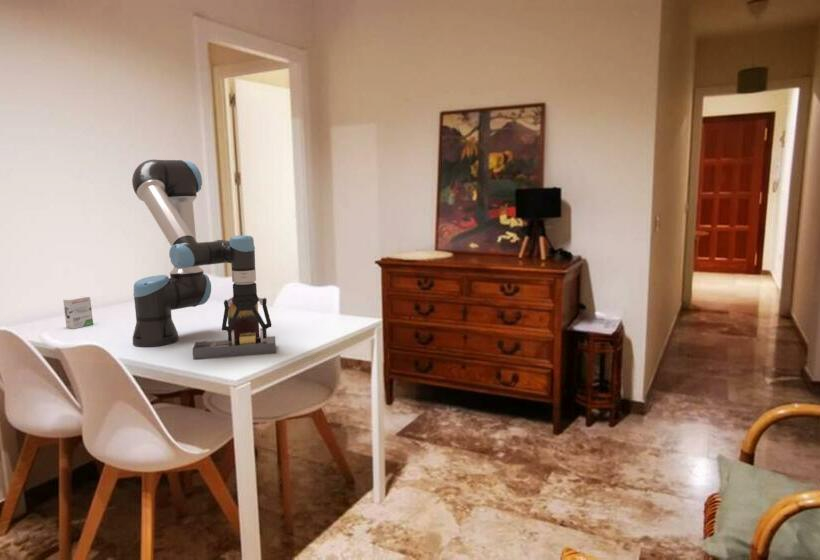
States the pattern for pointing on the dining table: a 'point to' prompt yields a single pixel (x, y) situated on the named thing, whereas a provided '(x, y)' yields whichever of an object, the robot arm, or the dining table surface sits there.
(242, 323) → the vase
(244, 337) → the yellow small box
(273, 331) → the dining table surface
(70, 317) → the ink box
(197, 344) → the rail
